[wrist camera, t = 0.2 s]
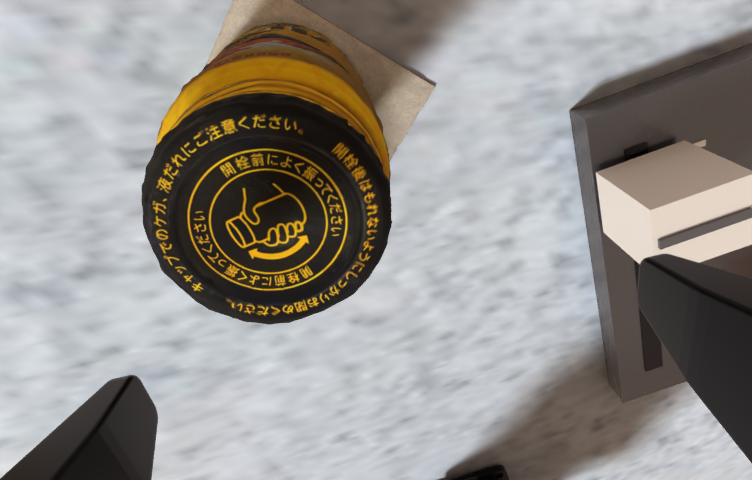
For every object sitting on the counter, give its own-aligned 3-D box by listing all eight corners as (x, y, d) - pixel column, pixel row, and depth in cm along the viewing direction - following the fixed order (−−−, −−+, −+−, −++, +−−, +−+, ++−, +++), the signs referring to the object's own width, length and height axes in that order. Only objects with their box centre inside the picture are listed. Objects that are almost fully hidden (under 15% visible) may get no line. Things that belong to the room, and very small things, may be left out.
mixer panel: (816, 314, 31) (841, 331, 29) (609, 384, 31) (624, 404, 30) (857, 4, 22) (895, 6, 20) (569, 110, 23) (587, 120, 21)
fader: (686, 203, 23) (755, 245, 20) (603, 232, 24) (657, 280, 20) (684, 140, 22) (759, 174, 18) (595, 172, 22) (652, 212, 18)
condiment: (245, -30, 19) (168, -27, 8) (434, 85, 21) (558, 198, 11) (173, 141, 21) (44, 310, 11) (350, 223, 24) (385, 422, 13)
